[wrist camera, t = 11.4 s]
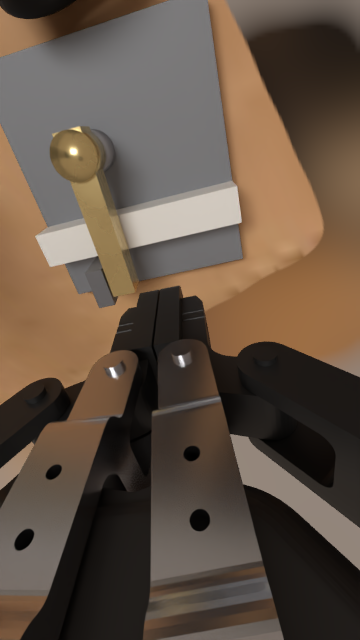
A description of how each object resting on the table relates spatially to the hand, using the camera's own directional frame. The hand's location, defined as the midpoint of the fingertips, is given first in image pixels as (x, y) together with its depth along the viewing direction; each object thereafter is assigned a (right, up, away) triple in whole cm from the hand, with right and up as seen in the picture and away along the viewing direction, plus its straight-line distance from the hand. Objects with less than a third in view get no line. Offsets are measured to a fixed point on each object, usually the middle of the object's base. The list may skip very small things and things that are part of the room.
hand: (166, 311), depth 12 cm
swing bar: (-6, +8, +14) cm, 17 cm away
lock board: (-4, +14, +17) cm, 23 cm away
